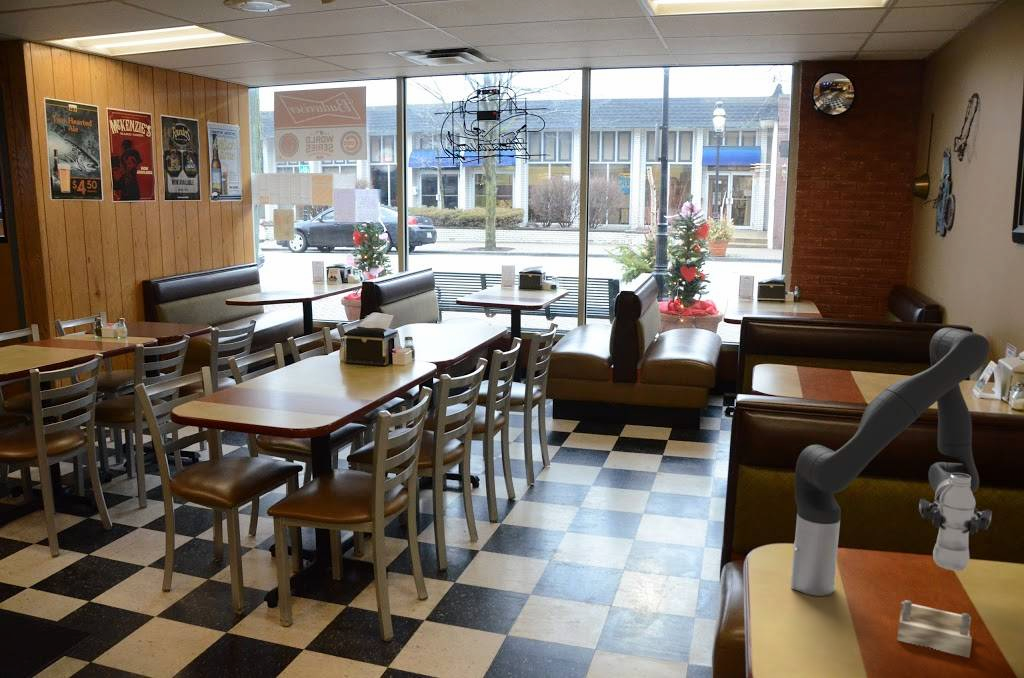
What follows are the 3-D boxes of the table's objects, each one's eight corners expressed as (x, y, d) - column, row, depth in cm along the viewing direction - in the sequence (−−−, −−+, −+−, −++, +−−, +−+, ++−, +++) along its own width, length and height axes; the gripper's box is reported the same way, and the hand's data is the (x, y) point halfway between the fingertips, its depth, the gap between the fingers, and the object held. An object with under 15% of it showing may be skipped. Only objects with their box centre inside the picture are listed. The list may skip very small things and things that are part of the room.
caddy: (897, 640, 168) (900, 610, 167) (899, 618, 177) (903, 590, 176) (969, 657, 162) (973, 627, 161) (968, 634, 171) (972, 605, 170)
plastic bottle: (972, 576, 167) (984, 482, 163) (936, 572, 168) (948, 479, 165) (961, 562, 173) (973, 471, 170) (927, 559, 174) (938, 469, 171)
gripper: (919, 477, 184) (917, 502, 169) (993, 489, 178) (998, 516, 163) (916, 509, 185) (913, 536, 170) (989, 522, 179) (993, 551, 164)
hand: (955, 526), depth 167 cm, fingers closed on plastic bottle, 5 cm apart
